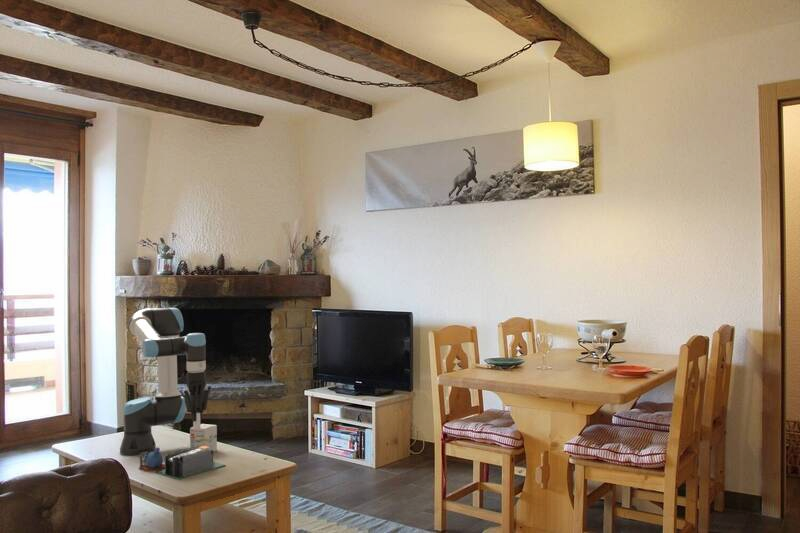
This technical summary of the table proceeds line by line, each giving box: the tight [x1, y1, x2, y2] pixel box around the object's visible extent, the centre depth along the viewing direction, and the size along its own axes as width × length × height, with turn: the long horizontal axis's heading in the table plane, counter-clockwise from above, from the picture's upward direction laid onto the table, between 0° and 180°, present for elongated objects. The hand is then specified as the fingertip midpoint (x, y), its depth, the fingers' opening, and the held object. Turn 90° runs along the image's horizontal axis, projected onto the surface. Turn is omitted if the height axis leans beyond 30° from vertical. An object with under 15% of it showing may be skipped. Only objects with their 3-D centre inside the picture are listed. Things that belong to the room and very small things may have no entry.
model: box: [138, 446, 165, 473], centre depth 271 cm, size 12×9×9 cm
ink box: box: [189, 423, 218, 453], centre depth 295 cm, size 9×8×12 cm
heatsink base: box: [155, 447, 227, 480], centre depth 267 cm, size 16×22×8 cm
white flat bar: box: [167, 446, 210, 462], centre depth 265 cm, size 17×4×2 cm, turn 142°
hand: (196, 428), depth 269 cm, fingers closed
